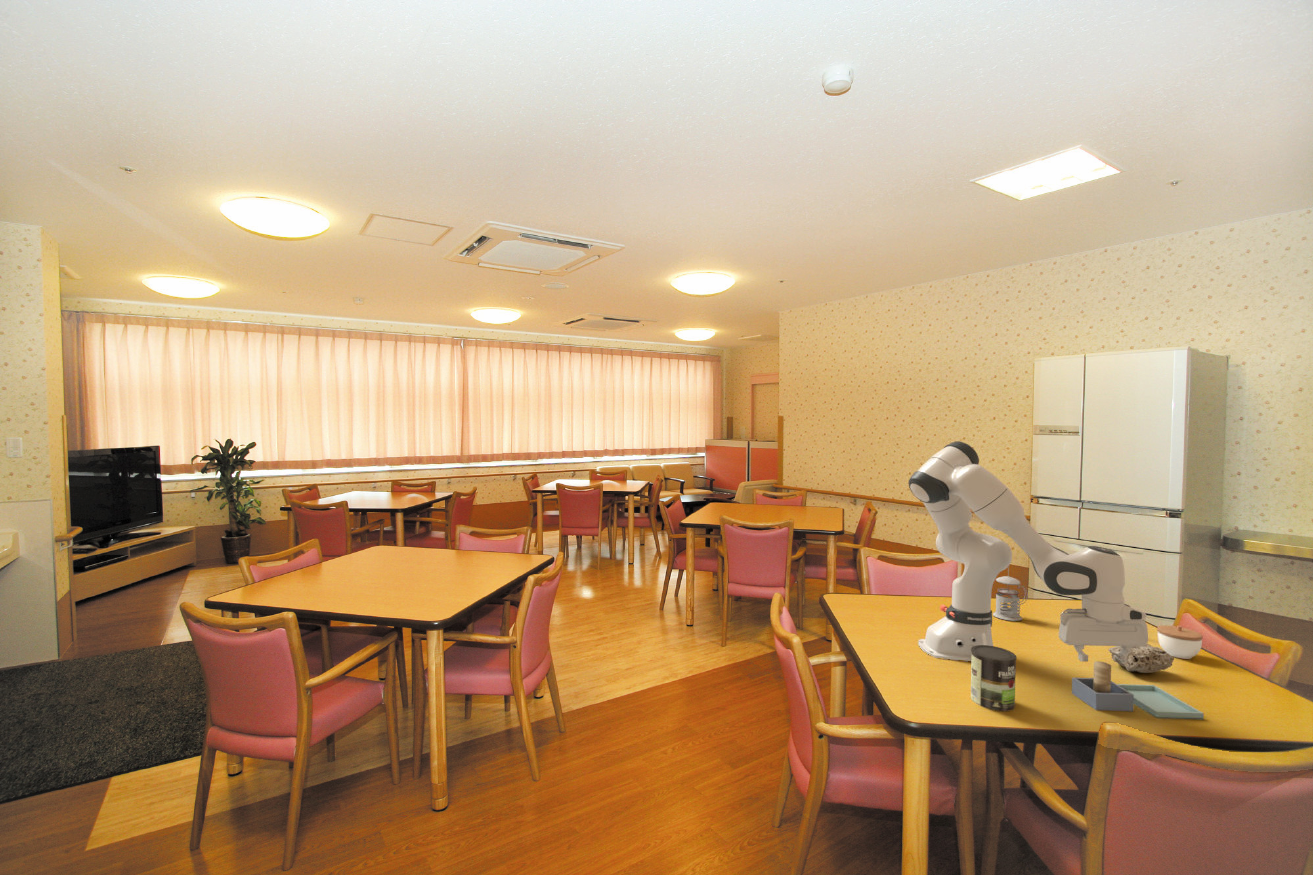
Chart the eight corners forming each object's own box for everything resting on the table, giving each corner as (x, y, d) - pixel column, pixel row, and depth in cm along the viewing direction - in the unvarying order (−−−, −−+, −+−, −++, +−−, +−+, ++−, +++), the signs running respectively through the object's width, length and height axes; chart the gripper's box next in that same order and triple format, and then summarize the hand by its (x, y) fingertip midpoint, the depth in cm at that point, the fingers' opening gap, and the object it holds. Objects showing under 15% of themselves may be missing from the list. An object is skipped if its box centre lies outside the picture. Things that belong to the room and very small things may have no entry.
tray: (1156, 720, 143) (1156, 711, 143) (1111, 691, 158) (1111, 683, 158) (1203, 721, 142) (1203, 713, 142) (1153, 692, 157) (1154, 685, 157)
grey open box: (1095, 712, 146) (1096, 693, 146) (1071, 695, 156) (1072, 677, 155) (1133, 713, 146) (1133, 694, 146) (1106, 696, 155) (1107, 678, 155)
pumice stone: (1156, 666, 174) (1157, 640, 174) (1182, 683, 163) (1183, 656, 163) (1104, 662, 177) (1104, 636, 177) (1126, 678, 166) (1126, 651, 166)
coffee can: (1024, 710, 148) (1025, 656, 147) (997, 718, 144) (998, 663, 143) (987, 692, 157) (988, 642, 157) (961, 700, 153) (962, 648, 153)
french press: (988, 611, 224) (989, 548, 224) (1019, 612, 223) (1021, 549, 222) (999, 620, 215) (1000, 554, 214) (1032, 621, 213) (1034, 555, 212)
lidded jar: (1201, 654, 183) (1202, 625, 183) (1202, 665, 175) (1203, 635, 175) (1157, 645, 190) (1158, 617, 190) (1155, 655, 183) (1156, 626, 182)
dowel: (1099, 704, 149) (1100, 666, 149) (1089, 698, 153) (1090, 661, 152) (1113, 705, 149) (1114, 667, 148) (1103, 698, 152) (1104, 661, 152)
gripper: (1068, 612, 147) (1068, 665, 148) (1153, 613, 146) (1152, 667, 146) (1053, 604, 154) (1053, 655, 154) (1134, 605, 152) (1133, 657, 152)
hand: (1102, 661), depth 150 cm, fingers open, 8 cm apart
